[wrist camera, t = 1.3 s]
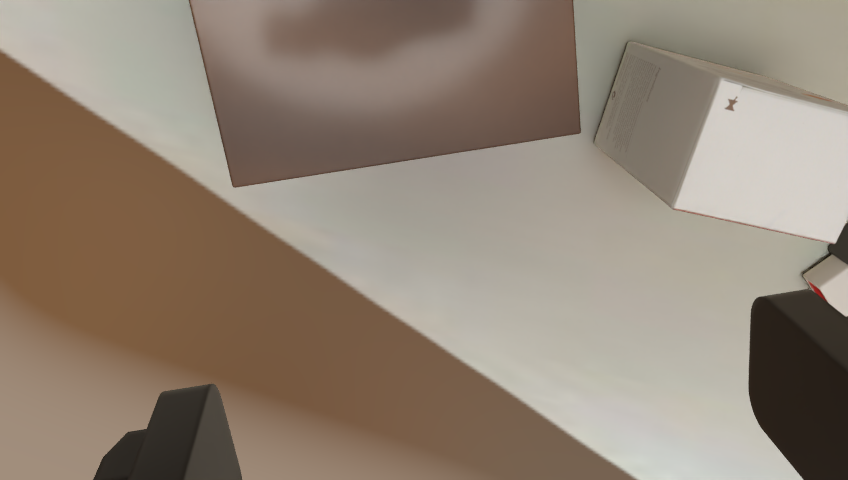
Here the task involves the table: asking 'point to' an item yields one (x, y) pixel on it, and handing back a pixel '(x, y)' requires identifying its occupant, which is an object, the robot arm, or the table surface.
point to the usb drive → (832, 275)
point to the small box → (729, 143)
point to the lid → (383, 80)
